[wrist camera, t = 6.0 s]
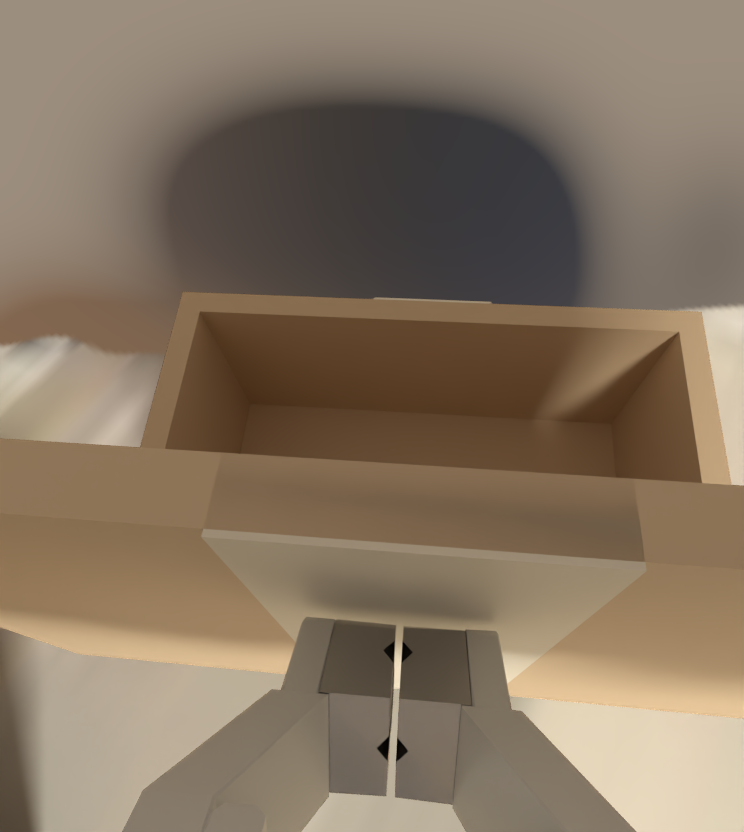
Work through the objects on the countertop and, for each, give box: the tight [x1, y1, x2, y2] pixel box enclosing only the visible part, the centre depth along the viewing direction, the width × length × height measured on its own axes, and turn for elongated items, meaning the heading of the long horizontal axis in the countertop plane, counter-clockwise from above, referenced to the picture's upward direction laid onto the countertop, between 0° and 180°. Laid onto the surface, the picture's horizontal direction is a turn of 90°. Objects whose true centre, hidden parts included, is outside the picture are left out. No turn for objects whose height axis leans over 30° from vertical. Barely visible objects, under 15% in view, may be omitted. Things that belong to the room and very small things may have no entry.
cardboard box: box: [140, 292, 731, 485], centre depth 27 cm, size 22×14×10 cm, turn 85°
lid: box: [0, 439, 744, 719], centre depth 13 cm, size 22×14×1 cm
